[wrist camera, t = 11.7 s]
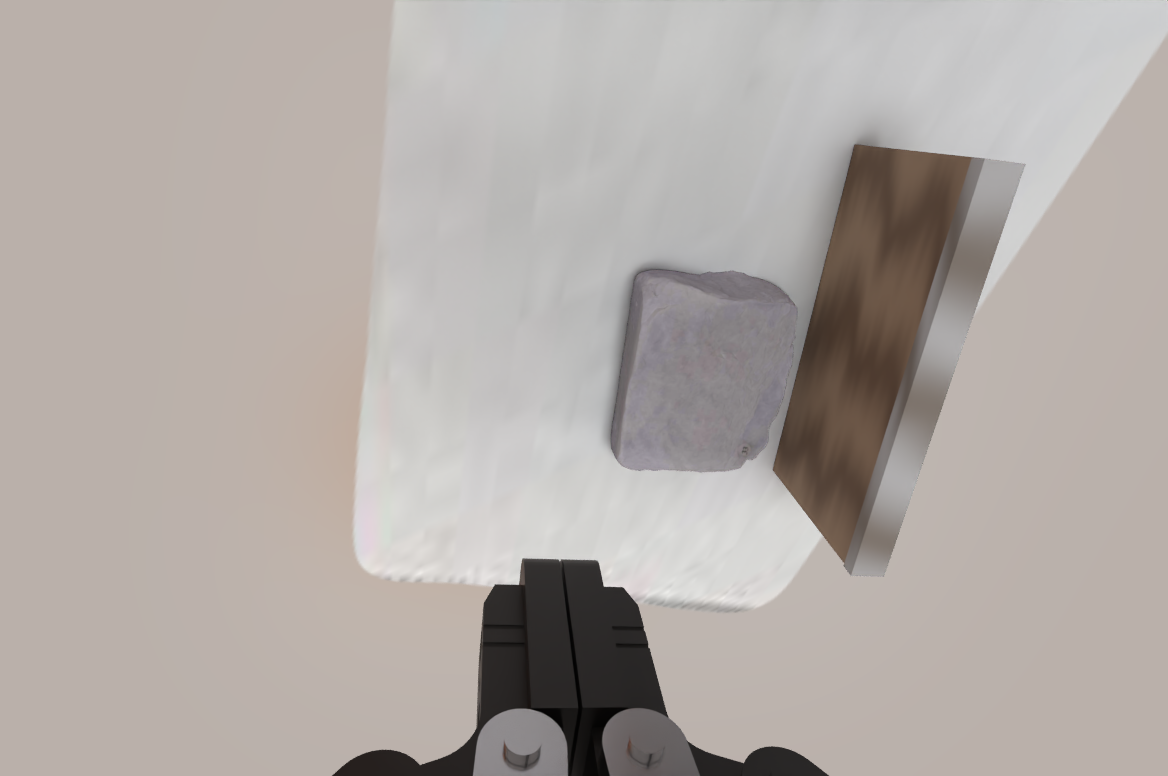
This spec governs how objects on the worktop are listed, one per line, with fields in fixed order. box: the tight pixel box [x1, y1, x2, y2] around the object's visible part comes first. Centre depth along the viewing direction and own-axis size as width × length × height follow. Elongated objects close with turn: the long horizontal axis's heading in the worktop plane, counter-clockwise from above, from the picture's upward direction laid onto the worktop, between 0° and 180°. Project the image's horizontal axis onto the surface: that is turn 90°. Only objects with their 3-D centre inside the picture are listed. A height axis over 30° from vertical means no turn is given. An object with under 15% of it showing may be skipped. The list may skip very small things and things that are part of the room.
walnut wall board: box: [773, 145, 1025, 576], centre depth 35 cm, size 20×2×11 cm, turn 173°
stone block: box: [611, 270, 797, 472], centre depth 40 cm, size 12×5×10 cm
